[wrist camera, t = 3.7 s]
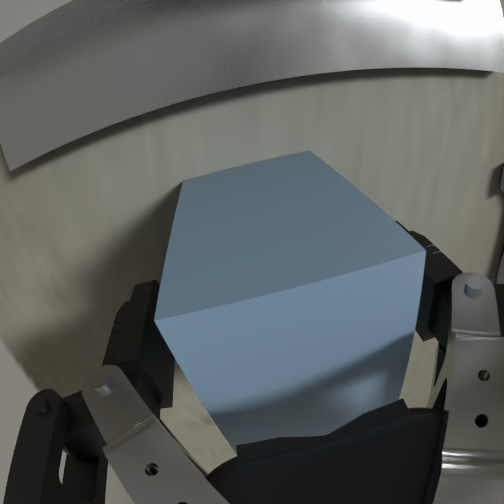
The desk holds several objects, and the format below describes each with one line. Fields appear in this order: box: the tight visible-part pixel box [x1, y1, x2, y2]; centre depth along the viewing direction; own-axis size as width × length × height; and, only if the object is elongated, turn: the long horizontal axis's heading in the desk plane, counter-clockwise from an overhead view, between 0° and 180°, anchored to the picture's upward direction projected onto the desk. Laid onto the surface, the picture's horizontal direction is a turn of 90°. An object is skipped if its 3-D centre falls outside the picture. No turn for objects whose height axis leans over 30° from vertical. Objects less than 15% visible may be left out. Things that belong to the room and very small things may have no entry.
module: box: [154, 151, 426, 454], centre depth 9 cm, size 4×7×7 cm
